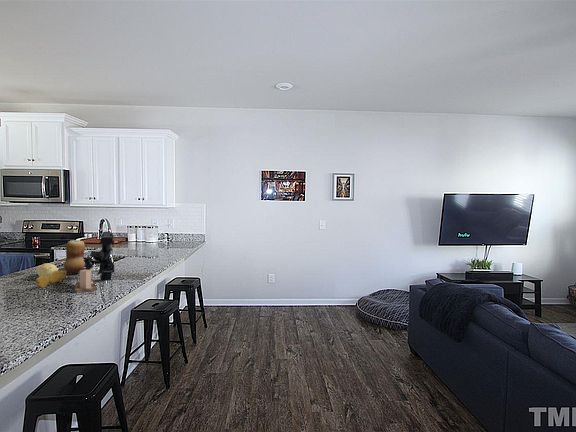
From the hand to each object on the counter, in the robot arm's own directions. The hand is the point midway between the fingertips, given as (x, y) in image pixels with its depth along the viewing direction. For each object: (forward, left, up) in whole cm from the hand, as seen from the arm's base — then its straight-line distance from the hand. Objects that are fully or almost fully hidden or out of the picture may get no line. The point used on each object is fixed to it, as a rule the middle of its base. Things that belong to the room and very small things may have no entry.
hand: (91, 273), depth 229 cm
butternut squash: (+11, -56, -10) cm, 58 cm away
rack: (+3, +1, -10) cm, 11 cm away
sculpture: (+27, -45, -10) cm, 53 cm away
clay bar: (+3, +5, -9) cm, 11 cm away
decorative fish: (+23, -22, -10) cm, 33 cm away
